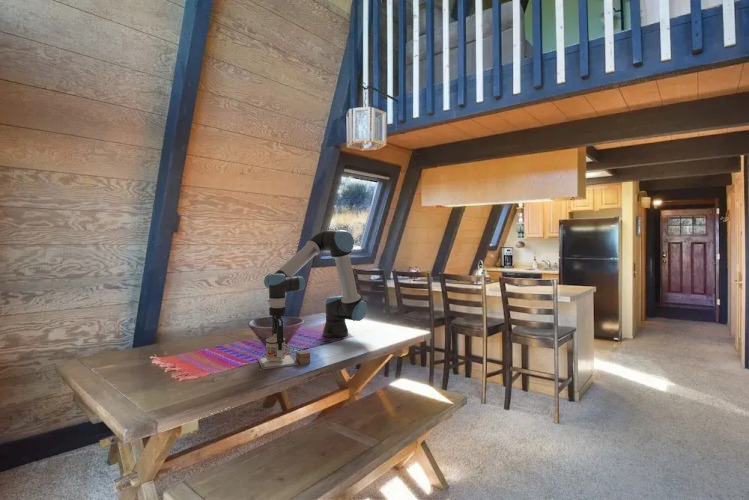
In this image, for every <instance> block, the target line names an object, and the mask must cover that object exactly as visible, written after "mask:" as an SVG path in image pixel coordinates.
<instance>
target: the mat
mask: <svg viewBox="0 0 749 500" xmlns="http://www.w3.org/2000/svg"><path fill="white" fill-rule="evenodd" d="M257 360H258V361H257V362H259V364H260V366H261V368H262V370H269V369H277V368H285V367H292V366H298V365H299V364H298V362H297V361H296V358H295V357H294V356H293V354H292V353H291V354H290V353H288V354H286V355H285V358H284V359H283V360H279V361H269V360H267V359H266V356H262V357H261V356H260V357H257Z"/></svg>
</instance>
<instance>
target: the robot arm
mask: <svg viewBox="0 0 749 500" xmlns="http://www.w3.org/2000/svg"><path fill="white" fill-rule="evenodd" d="M354 245H355V240H354V237H353V235H352V233H351V232H349V231H348V230H342V229H336V230H335V229H333V230H332V229H331V230H330V229H329V230H328V229H326V230H322V231H320V232H317V233H316V234H315V235H314V236H312V237H311V238H309V239H308V240H307V241H306V243H305V245H304V246H303V247H302V248H301V249H300V250H299V251H298V252H296V253H295V254H294V255H293V256H292V257H291V258H290V259H289V260H288V261H287V262H286V263H284V264H283V265H282V266H281V267H280V268H279V269H277V270H276V272H274V273H270V274H269V273H268V274H267V275H266V276H265V277H264V279H263V283H264V286H265V288H267V289H268V297H269V299H268V300H267V302H268V303H269V305H268V306H269V308H268V309H269V310H268V315H269V316H271V318H272V323H271V324H272V325H271V336H273V334H276V336H277V342H276V347H277V357H283V342H284V338H285V337H284V320H283V319H282V316H285V315H286V314H287V312H286V310H287V309H286V302H287V298H286V294H287V293H295V292H300V291H303V290H304V289H305V286H306V280H305V277H304V276H302V275H296V274H297V273H298V272H299V271H300V270H301V269H302V268H303V267H304V266H305V265H306V264H308V263H309V262H310V261H311V260H312V259H313V258H314V257H315V256H319V255H320V254H321V253H323V252H330V253H329V254H330V256H331V258H332V259H334V262H335V267H336V271H337V275H338V276H337V277H338V279H339V280H338V281H339V285H340V289H341V295H335V296H329V297H327V298H326V299H325V323H324V327H323V330H322V335H323V336H324V337H326V338H344V337H348V335H349V330H348V326H347V323H346V320H349V321H354V322H355V321H356V322H360V321H363V319H364V318H365V317H366V315H367V313H368V304H367V302H365V301H364V300H362V296H361V294H360V293H358V289H357V285H356V280H355V274H354V270H353V265H352V261H351V256H350V255H351V254H352V250H353V249H354ZM323 336H322V337H323Z"/></svg>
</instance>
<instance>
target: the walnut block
mask: <svg viewBox="0 0 749 500" xmlns="http://www.w3.org/2000/svg"><path fill="white" fill-rule="evenodd" d="M295 360H296V361H297V362H298V365H306V364H311V352H310V351H308V350H307V349H304V350H300V351H299V350H298V351H295Z"/></svg>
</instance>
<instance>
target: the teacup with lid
mask: <svg viewBox="0 0 749 500" xmlns="http://www.w3.org/2000/svg"><path fill="white" fill-rule="evenodd" d="M283 338H284V342H283V357H277V347H276V342H277V336H276V334H273V335H271V336H270V337H268V338H266V339H265V352H266V354H265V357H266V359H267V360H269V361H279V360H283V359H284V358H285V355H288V354H290V345H288V344H286V338H285V337H283ZM286 349H287V351H286Z"/></svg>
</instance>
